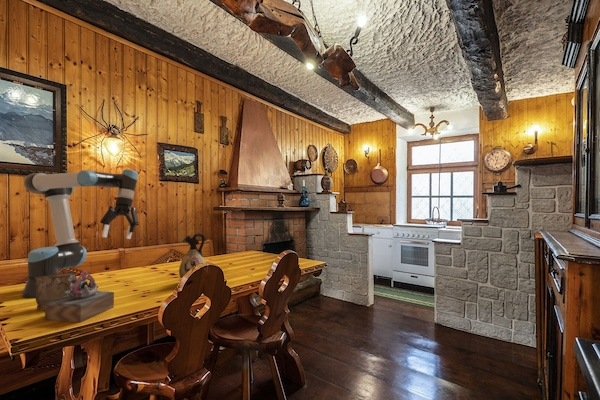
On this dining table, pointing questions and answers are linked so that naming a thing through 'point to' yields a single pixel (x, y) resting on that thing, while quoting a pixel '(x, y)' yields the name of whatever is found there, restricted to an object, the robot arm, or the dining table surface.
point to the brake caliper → (82, 286)
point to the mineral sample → (52, 287)
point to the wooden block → (78, 307)
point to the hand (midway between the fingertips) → (116, 238)
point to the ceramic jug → (192, 254)
